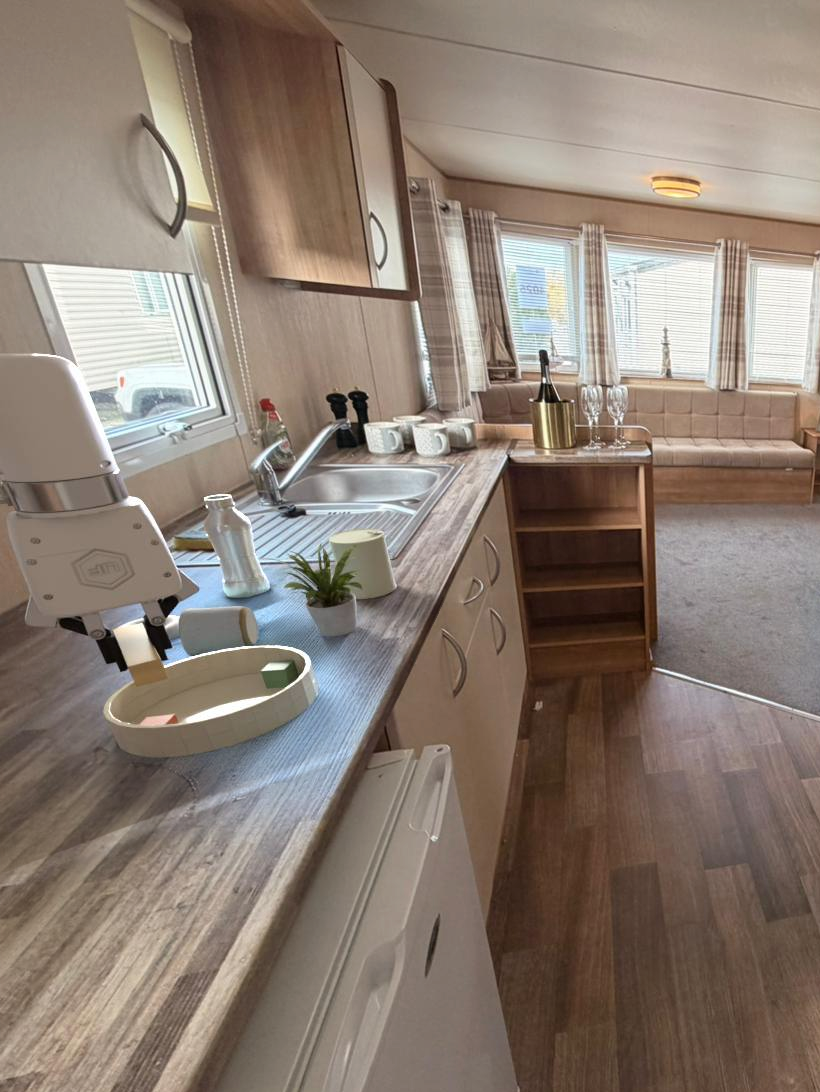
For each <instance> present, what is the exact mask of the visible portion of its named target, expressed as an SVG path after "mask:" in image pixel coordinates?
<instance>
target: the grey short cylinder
mask: <svg viewBox="0 0 820 1092" xmlns="http://www.w3.org/2000/svg"><path fill="white" fill-rule="evenodd" d="M179 616H180V618H179V635H180V636H179V639H180V644H181V646H182V649H183V651H185V653H186V654H187V655H188V656H189V657H195V656H198V655H202V654H206V653H211V652H215V651H220V650H225V649H232V648H239V647H248V646H256V644H257V643H258V639H259V627H258V622H257V618H256V616H255V612H253V610H252V609H250V608H249V607H247V606H240V605H239V606H238V605H232V606H217V607H195V608H186V609H183V610H182V612H181V613H180V615H179Z"/></svg>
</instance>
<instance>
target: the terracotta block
mask: <svg viewBox="0 0 820 1092" xmlns="http://www.w3.org/2000/svg"><path fill="white" fill-rule="evenodd" d="M178 723H179V722H178V720H177V717H176V715H175V714H172V715H163V716H154V717H146V718H145V719H144V720H143V721H142V722H141V723H140V724H139V725H166V724H178Z"/></svg>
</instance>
